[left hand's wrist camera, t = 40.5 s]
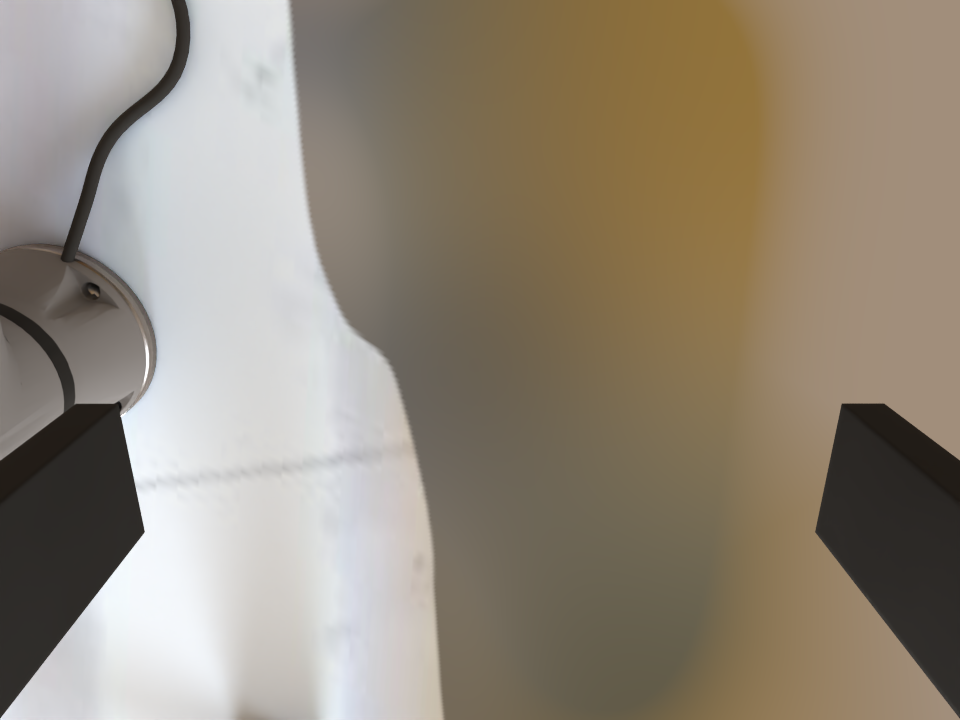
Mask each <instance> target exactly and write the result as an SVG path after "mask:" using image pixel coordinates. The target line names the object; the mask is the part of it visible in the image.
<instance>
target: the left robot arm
mask: <svg viewBox="0 0 960 720" xmlns="http://www.w3.org/2000/svg"><path fill="white" fill-rule="evenodd" d="M171 1H172V4H173V8H174V12H175V18H176V30H177V37H176V47H175V52H174V56H173V60H172V62H171V64H170V67H169V69H168V71H167V72H166V74H165V75H164V77H163V78H162V79H161V81H160V82H159V83H158V84H157V85H156V86H155V87H154V88H153V89H152V90H151V91H150V92H149V93H147V94H146V95H145V96H144V97H143V98H141V99H140V100H139V101H137V102H136V103H135V104H134V105H132V106H131V107H130V108H129V109H127V110H126V111H125V112H124V113H123V114H122V115H120V116H119V117H118V118H117V119H116V120H115V121H114V122H113V123H112V125H111V126H110V127H109V128H108V130H107V131H106V132H105V134H104V135H103V137H102V138H101V140H100V142H99V143H98V145H97V147H96V149H95V152H94V154H93V156H92V159H91V162H90V164H89V168H88V171H87V174H86V178H85V182H84V186H83V189H82V193H81V196H80V200H79V203H78V206H77V209H76V212H75V215H74V218H73V221H72V224H71V227H70V230H69V234H68V237H67V240H66V243H65V246H64V247H61V246H55V245H49V244H28V245H20V246H16V247H12V248H9V249H6V250H2V251H0V718H1V717H2V715H3V714H4V713H5V712H6V710H7V709H8V708H9V706H10V705H11V704H12V702H13V701H14V700H15V699H16V697H17V696H18V695H19V693H20V692H21V691H22V690H23V688H24V687H25V686H26V684H27V683H28V682H29V681H30V679H31V678H32V677H33V675H34V674H35V673H36V672H37V670H38V669H39V668H40V666H41V665H42V664H43V663H44V661H45V660H46V659H47V657H48V656H49V655H50V654H51V652H52V651H53V650H54V648H55V647H56V646H57V644H58V643H59V642H60V641H61V639H62V638H63V637H64V635H65V634H66V633H67V632H68V630H69V629H70V628H71V626H72V625H73V624H74V623H75V621H76V620H77V619H78V617H79V616H80V615H81V614H82V612H83V611H84V610H85V608H86V607H87V606H88V605H89V603H90V602H91V601H92V599H93V598H94V597H95V596H96V594H97V593H98V592H99V590H100V589H101V588H102V587H103V585H104V584H105V583H106V581H107V580H108V579H109V577H110V576H111V575H112V574H113V572H114V571H115V570H116V568H117V567H118V566H119V565H120V563H121V562H122V561H123V559H124V558H125V557H126V556H127V554H128V553H129V552H130V550H131V549H132V548H133V547H134V545H135V544H136V543H137V541H138V540H139V539H140V538H141V536H142V535H143V534H144V532H145V531H144V526H143V521H142V516H141V512H140V507H139V502H138V497H137V492H136V487H135V483H134V478H133V473H132V468H131V463H130V458H129V454H128V449H127V444H126V439H125V434H124V429H123V425H122V420H121V417H122V416H123V415H124V414H125V413H126V412H127V411H129V410H130V409H131V408H132V407H133V406H134V405H135V404H136V403H137V402H138V401H139V400H140V399H141V398H142V396H143V395H144V394H145V392H146V391H147V389H148V387H149V385H150V383H151V381H152V378H153V375H154V371H155V366H156V341H155V336H154V331H153V328H152V325H151V322H150V320H149V317H148V315H147V313H146V311H145V309H144V307H143V305H142V304H141V302H140V301H139V299H138V298H137V296H136V295H135V294H134V292H133V291H132V290H131V289H130V287H129V286H128V285H127V284H126V283H125V282H124V281H123V280H122V279H121V278H120V277H119V276H118V275H116V274H115V273H114V272H113V271H111V270H110V269H109V268H108V267H106V266H105V265H103V264H102V263H100V262H98V261H97V260H95V259H93V258H91V257H89V256H87V255H85V254H83V253H80V252H78V251H77V250H78V247H79V244H80V241H81V238H82V235H83V231H84V228H85V225H86V222H87V219H88V216H89V213H90V210H91V207H92V204H93V201H94V197H95V194H96V190H97V186H98V183H99V179H100V176H101V172H102V169H103V166H104V164H105V161H106V159H107V157H108V155H109V153H110V151H111V149H112V147H113V146H114V144H115V143H116V141H117V140H118V139H119V137H120V136H121V135H122V134H123V133H124V132H125V131H126V130H127V129H128V128H129V127H130V126H131V125H132V124H133V123H134V122H135V121H137V120H138V119H139V118H140V117H142V116H143V115H144V114H146V113H147V112H148V111H149V110H151V109H152V108H153V107H154V106H156V105H157V104H158V103H159V102H161V101H162V100H163V99H164V98H165V97H166V96H167V95H168V94H169V93H170V91H171V90H172V89H173V88H174V87H175V85H176V83H177V82H178V80H179V79H180V77H181V75H182V72H183V70H184V68H185V65H186V61H187V57H188V53H189V45H190V22H189V16H188V10H187V6H186V2H185V0H171ZM815 532H816V534H817V535H818V536H819V538H820V539H821V540H822V541H823V543H824V544H825V545H826V547H827V548H828V549H829V550H830V552H831V553H832V554H833V556H834V557H835V558H836V559H837V561H838V562H839V563H840V565H841V566H842V567H843V568H844V570H845V571H846V572H847V574H848V575H849V576H850V577H851V579H852V580H853V581H854V583H855V584H856V585H857V587H858V588H859V589H860V590H861V592H862V593H863V594H864V596H865V597H866V598H867V599H868V601H869V602H870V603H871V604H872V606H873V607H874V608H875V610H876V611H877V612H878V614H879V615H880V616H881V617H882V619H883V620H884V621H885V623H886V624H887V625H888V626H889V628H890V629H891V630H892V632H893V633H894V634H895V635H896V637H897V638H898V639H899V641H900V642H901V643H902V644H903V646H904V647H905V648H906V650H907V651H908V652H909V653H910V655H911V656H912V657H913V659H914V660H915V661H916V663H917V664H918V665H919V666H920V668H921V669H922V670H923V672H924V673H925V674H926V675H927V677H928V678H929V679H930V681H931V682H932V683H933V684H934V686H935V687H936V688H937V690H938V691H939V692H940V693H941V695H942V696H943V697H944V699H945V700H946V701H947V702H948V704H949V705H950V706H951V708H952V709H953V710H954V711H955V713H956V714H957V715H958V717H959V718H960V460H958V459H957V458H956V457H954V456H953V455H952V454H950V453H949V452H948V451H946V450H945V449H944V448H942V447H941V446H940V445H938V444H937V443H936V442H934V441H933V440H932V439H930V438H929V437H928V436H926V435H925V434H924V433H922V432H921V431H920V430H918V429H917V428H916V427H914V426H913V425H912V424H910V423H909V422H908V421H906V420H905V419H904V418H902V417H901V416H900V415H898V414H897V413H896V412H895V411H893V410H892V409H891V408H889V407H888V406H887V405H885V404H842V405H841V410H840V415H839V420H838V425H837V429H836V434H835V439H834V444H833V449H832V454H831V458H830V463H829V468H828V473H827V478H826V483H825V487H824V492H823V497H822V502H821V507H820V512H819V517H818V521H817V526H816V531H815Z"/></svg>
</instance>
